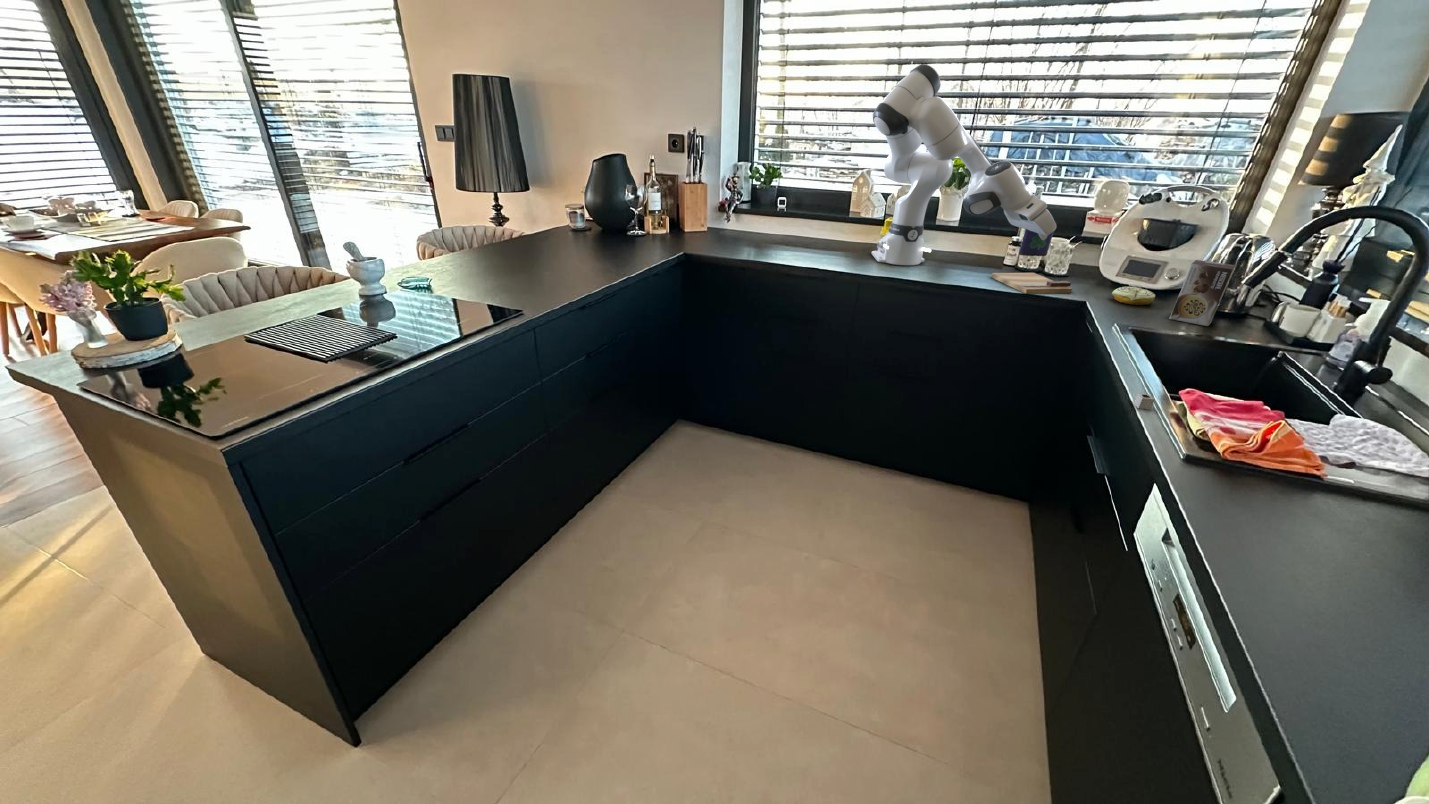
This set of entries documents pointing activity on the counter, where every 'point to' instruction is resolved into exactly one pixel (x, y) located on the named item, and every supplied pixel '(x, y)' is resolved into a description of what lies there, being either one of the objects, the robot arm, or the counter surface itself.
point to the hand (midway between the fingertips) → (1039, 237)
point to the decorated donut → (1133, 295)
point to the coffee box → (1202, 292)
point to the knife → (1049, 284)
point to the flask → (1034, 244)
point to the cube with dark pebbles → (1144, 401)
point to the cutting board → (1029, 282)
